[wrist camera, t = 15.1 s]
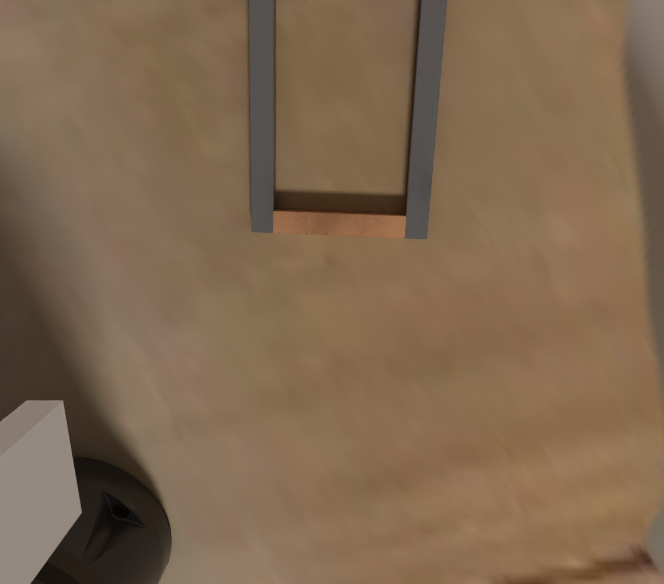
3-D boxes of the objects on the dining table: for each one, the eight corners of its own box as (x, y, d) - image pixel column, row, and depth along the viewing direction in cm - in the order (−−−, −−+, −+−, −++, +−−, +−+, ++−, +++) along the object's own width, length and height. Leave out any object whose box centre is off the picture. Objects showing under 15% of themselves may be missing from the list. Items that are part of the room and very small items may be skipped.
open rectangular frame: (254, 229, 37) (251, 232, 36) (249, -272, 29) (245, -286, 28) (424, 236, 36) (426, 239, 35) (467, -272, 28) (471, -286, 27)
